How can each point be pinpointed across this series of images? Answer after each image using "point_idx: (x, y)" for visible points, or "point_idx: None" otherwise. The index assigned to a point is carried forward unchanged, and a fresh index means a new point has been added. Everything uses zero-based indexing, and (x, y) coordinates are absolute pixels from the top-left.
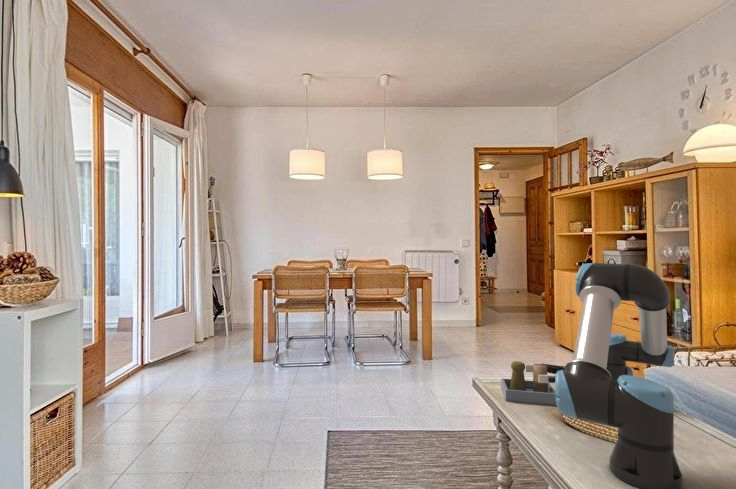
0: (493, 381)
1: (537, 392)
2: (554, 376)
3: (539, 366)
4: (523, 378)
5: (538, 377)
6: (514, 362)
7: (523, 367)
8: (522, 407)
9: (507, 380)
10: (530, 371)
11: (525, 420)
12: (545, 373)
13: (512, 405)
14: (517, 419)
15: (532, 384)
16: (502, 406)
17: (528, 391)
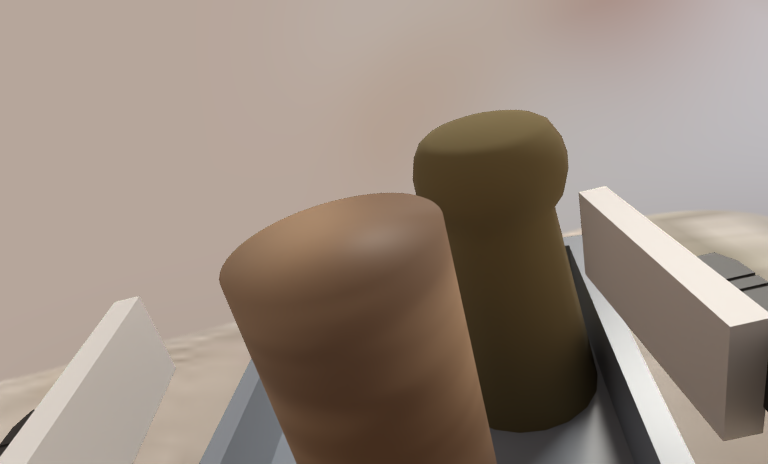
0: (753, 259)
1: (211, 445)
2: (8, 462)
3: (285, 239)
4: (467, 304)
5: (147, 323)
6: (464, 117)
7: (430, 192)
8: (190, 414)
9: (576, 270)
10: (613, 299)
11: (4, 420)
12: (262, 378)
13: (234, 368)
14: (38, 388)
15: (646, 461)
16: (227, 331)
17: (249, 382)
